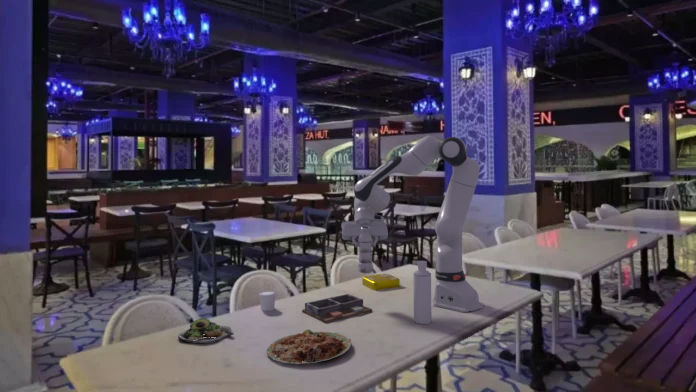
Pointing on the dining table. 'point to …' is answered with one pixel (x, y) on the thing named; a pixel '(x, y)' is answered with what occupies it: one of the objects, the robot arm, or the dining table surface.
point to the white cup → (267, 300)
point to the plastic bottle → (365, 251)
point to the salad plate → (205, 331)
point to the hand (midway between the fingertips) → (365, 246)
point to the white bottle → (422, 294)
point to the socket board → (336, 308)
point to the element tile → (380, 281)
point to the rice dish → (309, 347)
